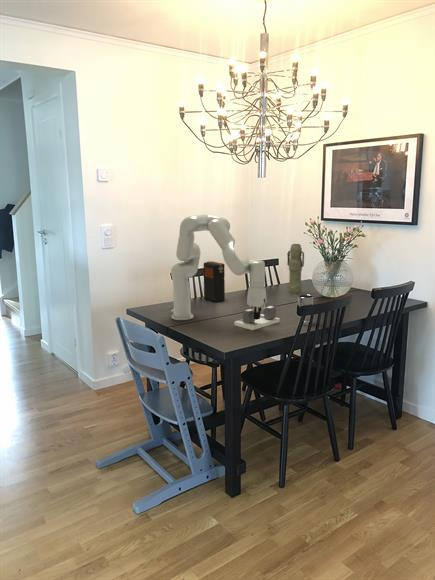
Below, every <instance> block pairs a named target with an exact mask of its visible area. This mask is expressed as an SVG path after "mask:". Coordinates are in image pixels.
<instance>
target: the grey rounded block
mask: <svg viewBox="0 0 435 580" xmlns="http://www.w3.org/2000/svg"><path fill="white" fill-rule="evenodd" d="M242 319H243V322H246V323H251V322H254V321H255V319H254V312H253V309H252V308H251V309H250V308H248V309H244V310H243V311H242Z"/></svg>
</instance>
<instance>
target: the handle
mask: <svg viewBox="0 0 435 580" xmlns="http://www.w3.org/2000/svg"><path fill="white" fill-rule="evenodd" d="M265 308H266V309H264V312H263V313H264V314H263V315H264V318H265V319H269V320H270V319H274V318H277V307H276V306H273V305H269V306H265Z"/></svg>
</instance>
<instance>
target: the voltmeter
mask: <svg viewBox="0 0 435 580" xmlns="http://www.w3.org/2000/svg"><path fill="white" fill-rule="evenodd" d="M225 277H226V276H225V264H224V263H221V262H217V261H210V260H209V261H205V262H204V263H203V297H204V299H206V300H209V301H212V302H215V303H218V302H225V300H226V297H225V296H226V295H225V293H226V291H225V289H226V288H225V286H226V285H225V282H226V281H225Z"/></svg>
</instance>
